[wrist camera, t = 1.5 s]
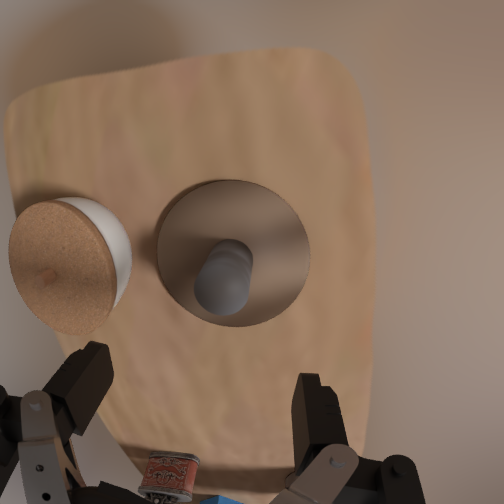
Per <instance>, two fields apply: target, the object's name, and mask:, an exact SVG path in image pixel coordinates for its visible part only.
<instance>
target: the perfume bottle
mask: <svg viewBox="0 0 504 504" xmlns="http://www.w3.org/2000/svg"><path fill="white" fill-rule="evenodd" d="M200 504H243V503H240V502H237V501H234V500H231V499H228V498H226V497H223V496H220V495H218V496H215V497H212V498H209V499H207V500H203V501H200Z"/></svg>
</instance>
